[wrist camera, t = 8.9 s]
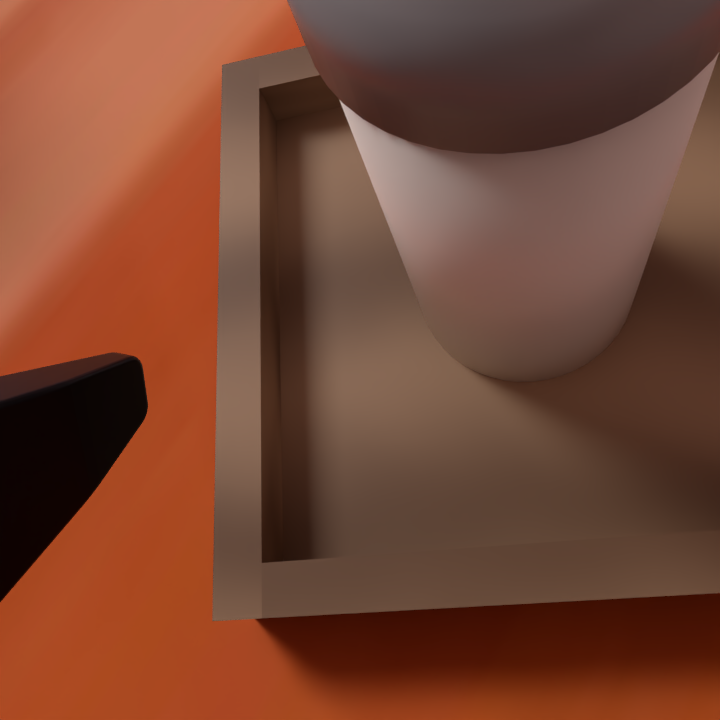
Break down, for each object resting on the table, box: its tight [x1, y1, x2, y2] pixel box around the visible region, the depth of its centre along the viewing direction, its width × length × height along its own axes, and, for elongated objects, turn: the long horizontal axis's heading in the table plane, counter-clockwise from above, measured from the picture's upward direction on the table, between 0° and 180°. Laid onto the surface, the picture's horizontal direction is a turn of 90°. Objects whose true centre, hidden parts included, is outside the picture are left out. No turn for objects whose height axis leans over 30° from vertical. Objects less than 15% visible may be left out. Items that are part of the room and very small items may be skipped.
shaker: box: [287, 0, 720, 382], centre depth 13 cm, size 6×6×12 cm
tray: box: [213, 46, 720, 621], centre depth 18 cm, size 16×16×2 cm
